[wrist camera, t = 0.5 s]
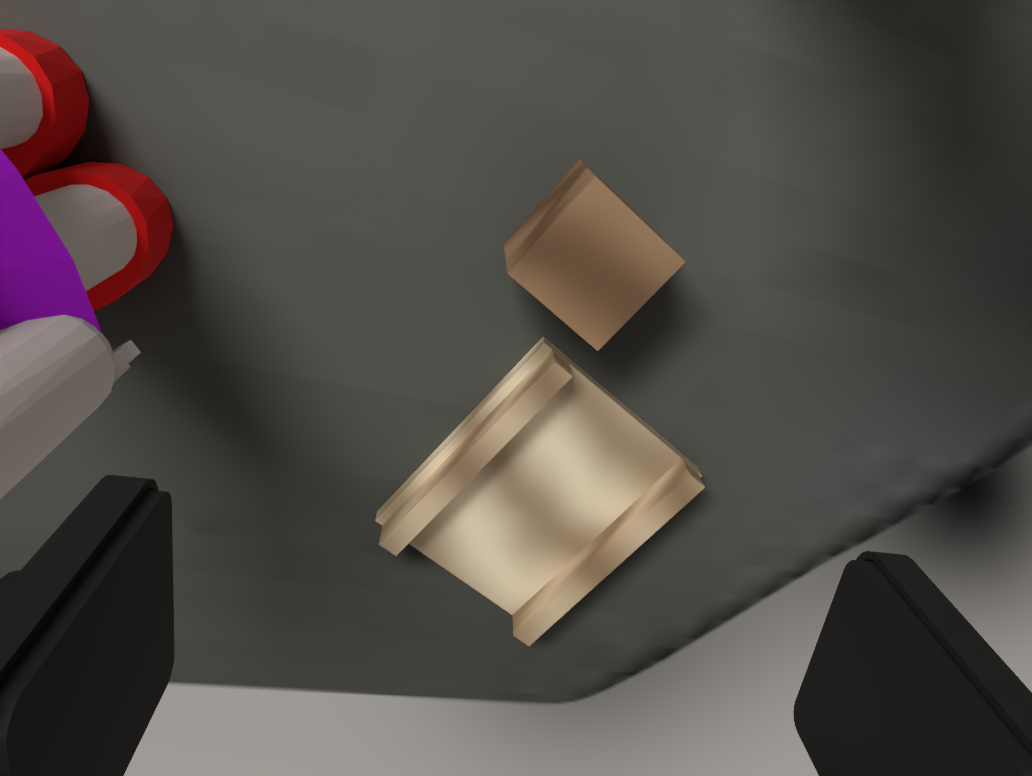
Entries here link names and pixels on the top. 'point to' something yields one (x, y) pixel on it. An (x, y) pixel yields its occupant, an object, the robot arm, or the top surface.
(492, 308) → the top surface
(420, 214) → the top surface
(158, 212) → the toy
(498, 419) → the board
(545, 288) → the walnut block
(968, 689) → the robot arm
